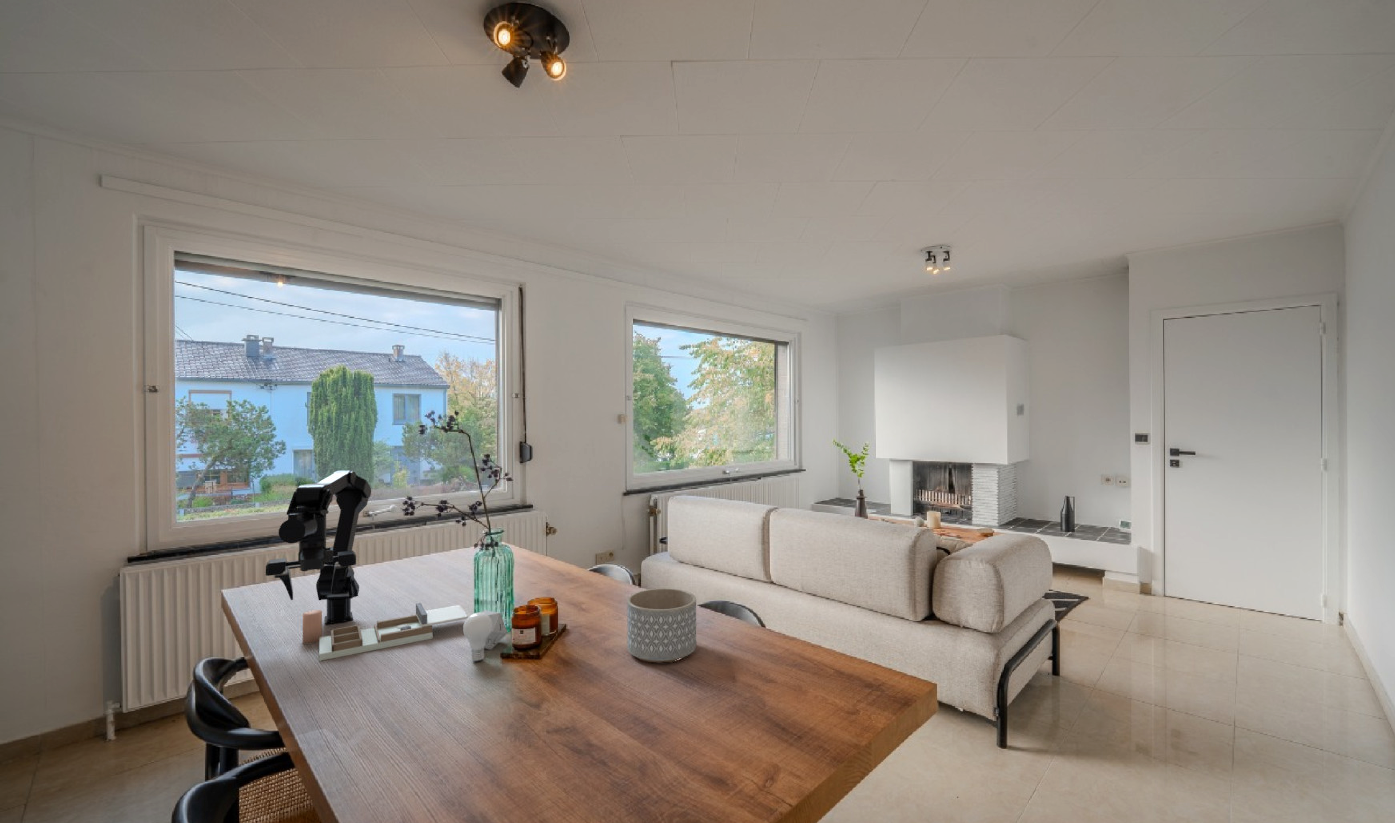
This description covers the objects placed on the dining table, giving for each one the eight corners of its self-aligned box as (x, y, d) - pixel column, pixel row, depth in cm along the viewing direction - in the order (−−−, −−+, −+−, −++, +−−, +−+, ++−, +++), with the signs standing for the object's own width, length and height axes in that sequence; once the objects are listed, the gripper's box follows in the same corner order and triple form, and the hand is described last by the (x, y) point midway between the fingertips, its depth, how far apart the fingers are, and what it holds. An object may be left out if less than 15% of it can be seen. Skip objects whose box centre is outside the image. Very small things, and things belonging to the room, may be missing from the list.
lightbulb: (456, 663, 131) (456, 615, 131) (479, 653, 136) (479, 606, 136) (476, 669, 128) (476, 619, 128) (498, 658, 133) (498, 611, 133)
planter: (665, 673, 126) (665, 615, 126) (613, 654, 136) (613, 600, 136) (709, 648, 139) (709, 596, 139) (658, 633, 149) (658, 584, 149)
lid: (415, 614, 154) (415, 603, 154) (459, 606, 160) (459, 596, 160) (422, 627, 145) (422, 615, 145) (467, 618, 151) (467, 607, 151)
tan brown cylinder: (302, 639, 145) (303, 611, 145) (321, 636, 147) (321, 608, 147) (302, 644, 142) (302, 616, 142) (321, 641, 144) (321, 613, 144)
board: (319, 643, 142) (319, 631, 142) (425, 624, 156) (425, 612, 156) (319, 660, 132) (319, 647, 132) (432, 638, 146) (432, 626, 146)
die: (470, 659, 135) (497, 624, 135) (453, 632, 139) (478, 599, 140) (495, 659, 142) (521, 626, 142) (478, 634, 147) (502, 602, 147)
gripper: (263, 545, 133) (263, 612, 133) (357, 535, 143) (357, 598, 143) (267, 537, 142) (267, 600, 142) (355, 528, 152) (354, 587, 152)
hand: (312, 596), depth 144 cm, fingers open, 8 cm apart
